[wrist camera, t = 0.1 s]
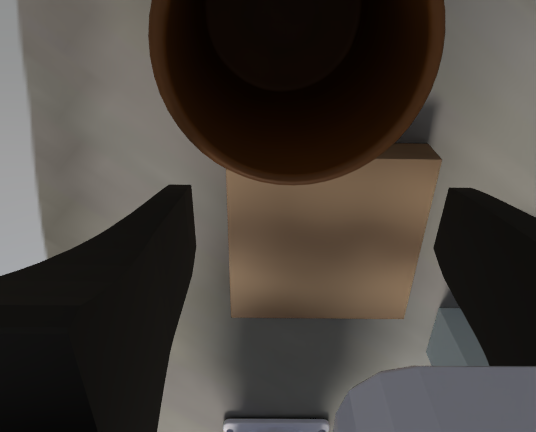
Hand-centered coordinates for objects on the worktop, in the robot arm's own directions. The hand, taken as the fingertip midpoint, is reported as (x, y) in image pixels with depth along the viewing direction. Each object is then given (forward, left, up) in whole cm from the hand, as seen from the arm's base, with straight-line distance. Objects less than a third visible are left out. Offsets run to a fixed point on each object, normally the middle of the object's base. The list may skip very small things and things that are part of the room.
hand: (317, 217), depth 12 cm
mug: (+6, 0, -10) cm, 12 cm away
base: (-7, -2, -10) cm, 12 cm away
